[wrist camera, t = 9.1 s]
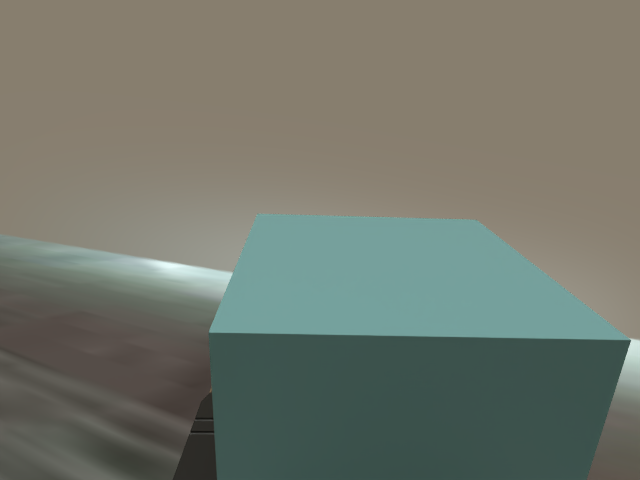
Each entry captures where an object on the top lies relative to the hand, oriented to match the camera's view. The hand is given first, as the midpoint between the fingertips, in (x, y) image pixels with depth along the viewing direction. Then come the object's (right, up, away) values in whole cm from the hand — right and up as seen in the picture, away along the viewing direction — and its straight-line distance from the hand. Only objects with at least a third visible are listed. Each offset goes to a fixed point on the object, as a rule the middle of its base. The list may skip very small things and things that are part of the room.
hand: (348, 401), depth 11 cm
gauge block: (0, -7, -1) cm, 7 cm away
